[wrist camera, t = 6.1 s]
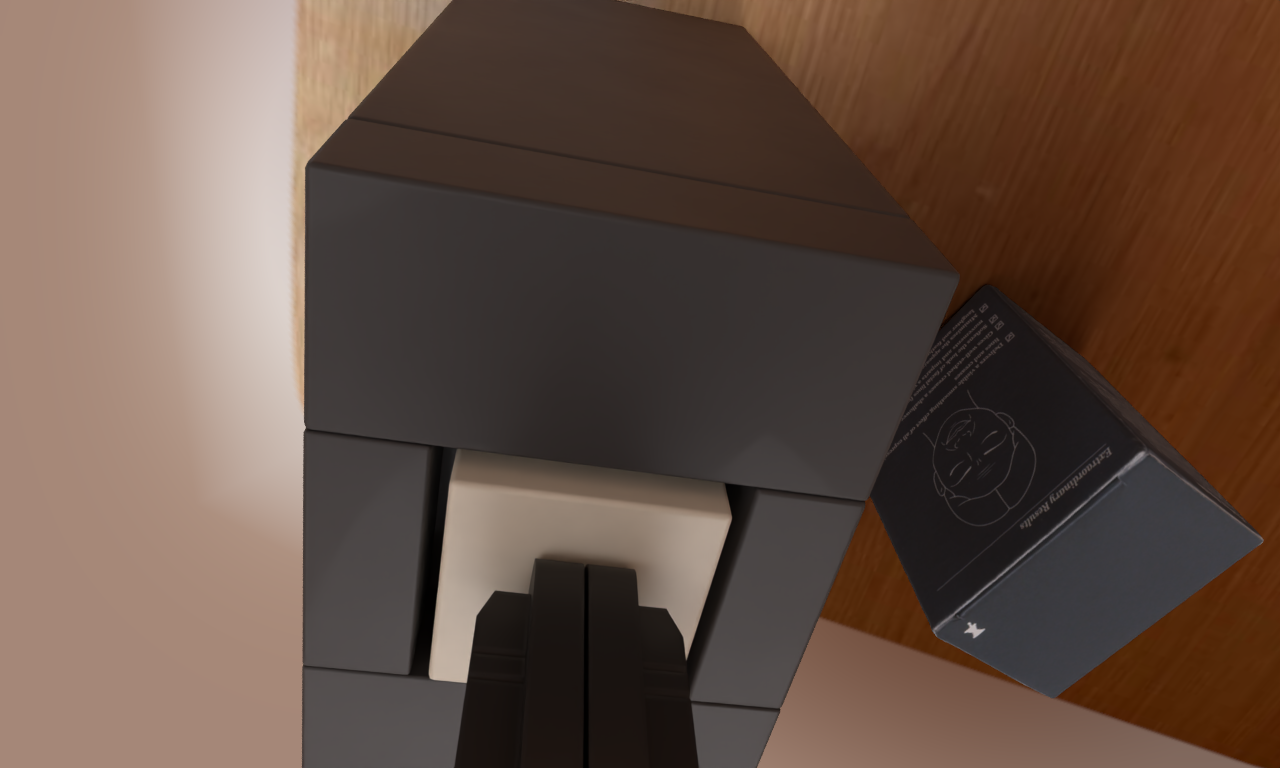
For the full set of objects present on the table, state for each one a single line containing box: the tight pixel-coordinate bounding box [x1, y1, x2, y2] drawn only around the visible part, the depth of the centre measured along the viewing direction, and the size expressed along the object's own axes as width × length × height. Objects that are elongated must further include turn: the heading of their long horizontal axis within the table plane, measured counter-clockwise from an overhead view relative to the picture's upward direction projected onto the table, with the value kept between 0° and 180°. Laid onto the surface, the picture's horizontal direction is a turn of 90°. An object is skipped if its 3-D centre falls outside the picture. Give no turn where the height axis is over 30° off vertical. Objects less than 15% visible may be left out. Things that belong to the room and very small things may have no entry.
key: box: [429, 449, 732, 683], centre depth 14 cm, size 4×4×2 cm
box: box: [870, 285, 1263, 698], centre depth 29 cm, size 8×6×11 cm
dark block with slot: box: [302, 0, 960, 768], centre depth 21 cm, size 12×8×18 cm, turn 169°
